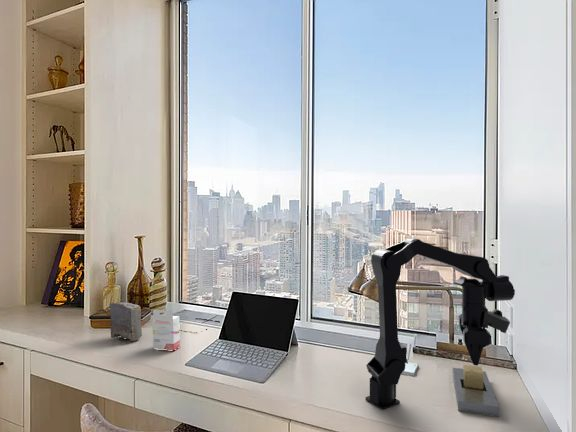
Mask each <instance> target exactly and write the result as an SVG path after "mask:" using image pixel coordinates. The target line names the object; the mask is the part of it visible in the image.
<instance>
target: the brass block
mask: <svg viewBox="0 0 576 432" xmlns="http://www.w3.org/2000/svg"><path fill="white" fill-rule="evenodd" d="M462 367H463V368H462V369H463V388H465V389H472V390H480V391H483V371H484V370H483V369H482V366H479V365H468V364H463V365H462Z"/></svg>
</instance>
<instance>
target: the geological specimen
mask: <svg viewBox="0 0 576 432" xmlns="http://www.w3.org/2000/svg"><path fill="white" fill-rule="evenodd" d="M109 315H110V320H109V321H110V338H112V339H113V338H119V337H121V338H122V337H123V338H122V339H124V338H126V339H130V340H129V341H131V342H136V341H137V340H140V339H141V338H142V336H143V330H142V310H141V306H140V305H138V304H133V303H130V302H129V301H125V302H121V301H118V302H111V303H109ZM118 336H119V337H118ZM126 339H125V340H126Z"/></svg>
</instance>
